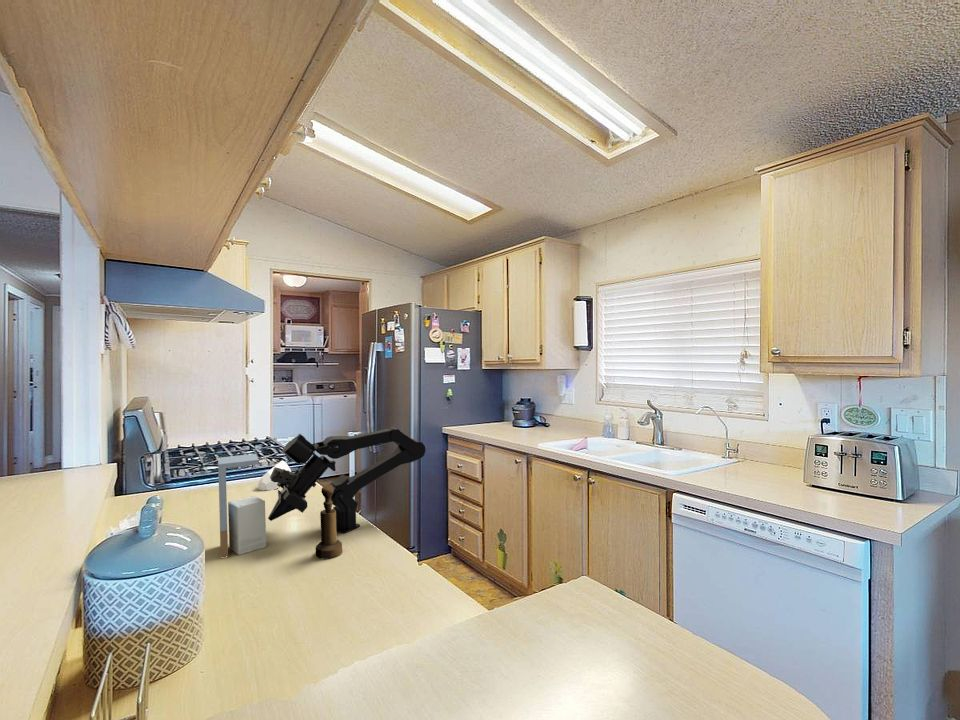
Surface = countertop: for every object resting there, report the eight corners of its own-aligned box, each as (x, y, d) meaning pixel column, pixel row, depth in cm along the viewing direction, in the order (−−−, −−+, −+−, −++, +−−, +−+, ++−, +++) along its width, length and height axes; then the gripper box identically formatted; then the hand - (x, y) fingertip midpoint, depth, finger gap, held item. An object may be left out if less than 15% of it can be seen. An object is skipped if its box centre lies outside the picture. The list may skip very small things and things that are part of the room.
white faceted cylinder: (270, 467, 206) (250, 482, 182) (285, 458, 206) (267, 472, 183) (279, 481, 206) (261, 498, 183) (294, 472, 207) (278, 488, 183)
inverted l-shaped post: (258, 539, 136) (256, 453, 135) (261, 550, 128) (258, 459, 127) (220, 546, 131) (218, 457, 130) (221, 558, 123) (218, 464, 123)
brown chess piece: (334, 546, 130) (333, 480, 129) (347, 553, 125) (345, 484, 125) (311, 554, 125) (309, 485, 125) (322, 561, 120) (321, 490, 120)
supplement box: (267, 547, 130) (266, 500, 130) (237, 555, 125) (236, 507, 124) (256, 539, 135) (255, 495, 135) (228, 547, 130) (227, 501, 130)
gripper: (283, 451, 143) (243, 494, 138) (293, 463, 127) (248, 512, 122) (311, 473, 147) (274, 516, 142) (324, 488, 131) (282, 536, 126)
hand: (269, 519), depth 133 cm, fingers closed
